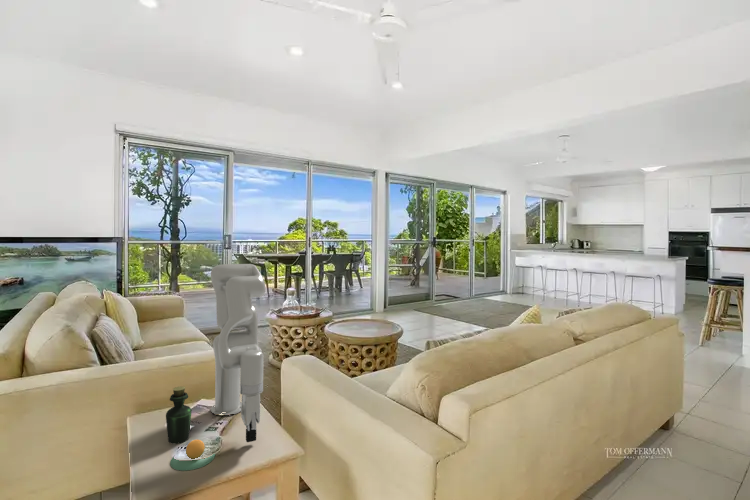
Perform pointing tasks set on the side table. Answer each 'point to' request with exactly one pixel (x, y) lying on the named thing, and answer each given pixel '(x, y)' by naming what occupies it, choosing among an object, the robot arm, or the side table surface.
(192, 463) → the disc
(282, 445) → the side table surface
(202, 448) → the ball
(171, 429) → the potion bottle
